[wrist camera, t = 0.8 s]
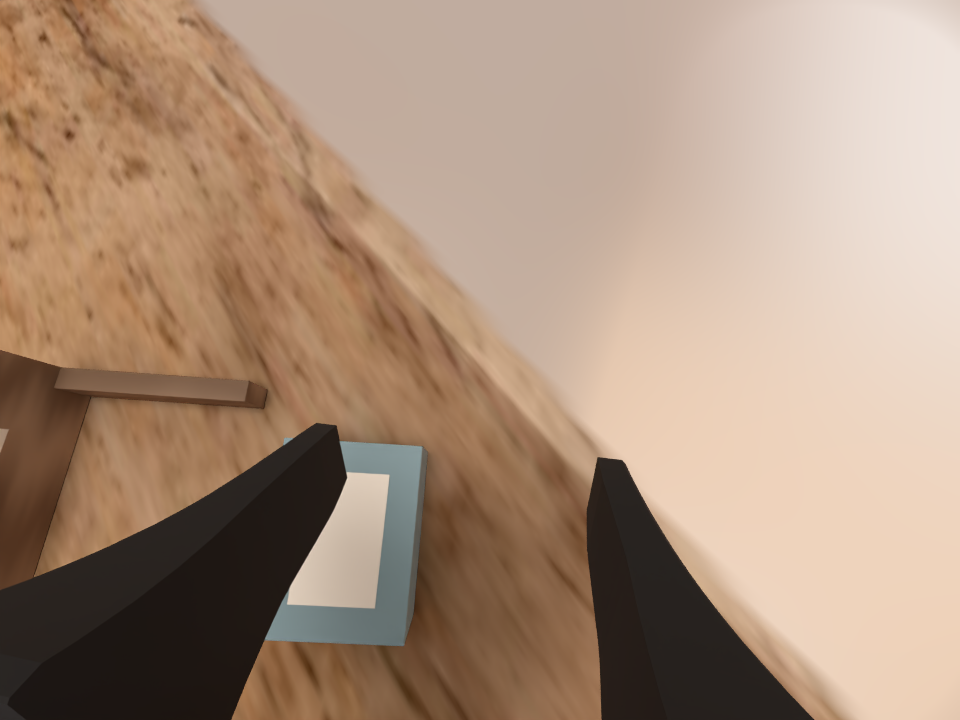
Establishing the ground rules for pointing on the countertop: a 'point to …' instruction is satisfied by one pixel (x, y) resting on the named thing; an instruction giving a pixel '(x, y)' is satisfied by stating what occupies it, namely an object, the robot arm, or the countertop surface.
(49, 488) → the display stand
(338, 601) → the carton
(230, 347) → the countertop surface
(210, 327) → the countertop surface
